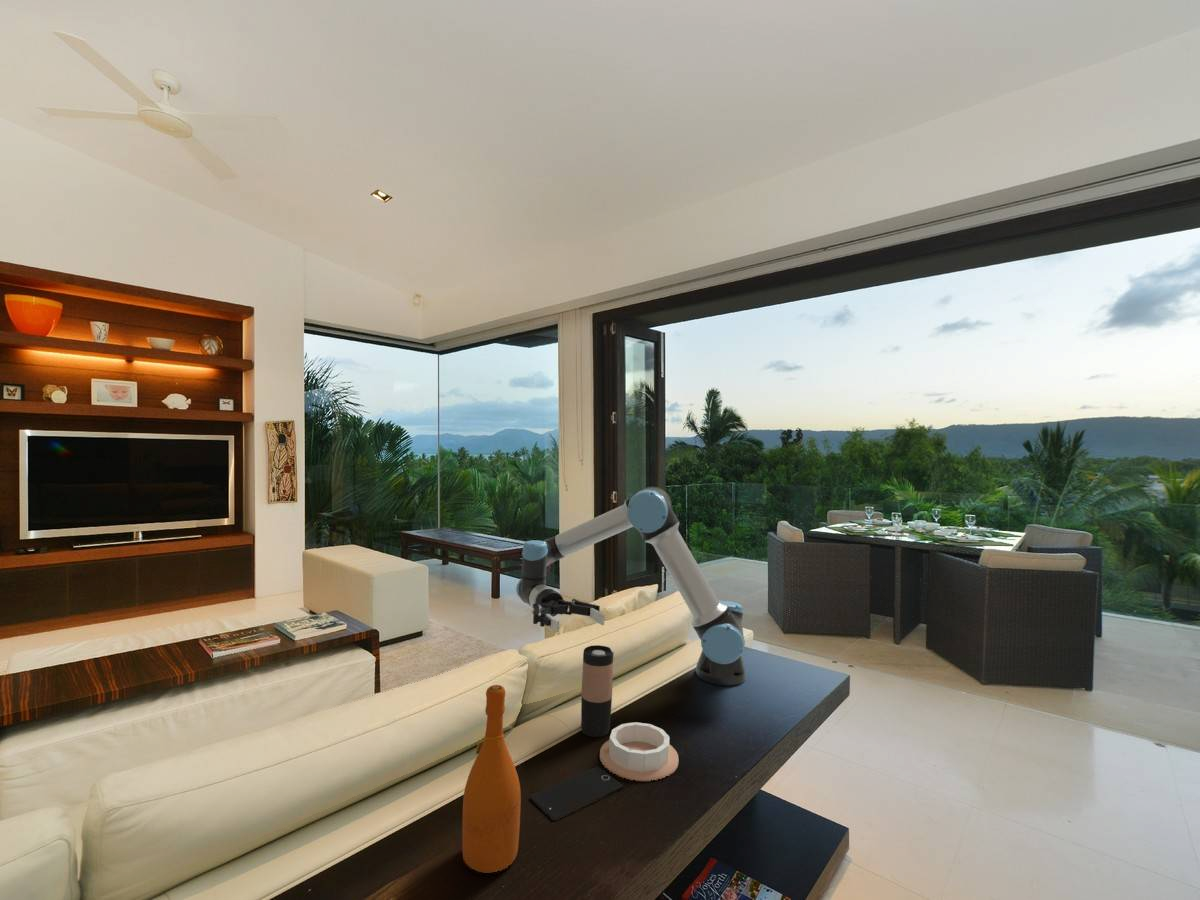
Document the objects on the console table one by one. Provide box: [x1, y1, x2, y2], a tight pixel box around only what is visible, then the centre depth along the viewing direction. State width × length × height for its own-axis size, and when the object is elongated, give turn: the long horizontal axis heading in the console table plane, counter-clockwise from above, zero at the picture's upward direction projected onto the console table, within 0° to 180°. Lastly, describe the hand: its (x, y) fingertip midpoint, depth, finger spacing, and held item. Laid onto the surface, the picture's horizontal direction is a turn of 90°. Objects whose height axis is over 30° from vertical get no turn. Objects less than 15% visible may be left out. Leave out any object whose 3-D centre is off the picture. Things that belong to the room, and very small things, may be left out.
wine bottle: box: [461, 684, 522, 874], centre depth 101 cm, size 10×10×30 cm
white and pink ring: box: [599, 721, 680, 782], centre depth 134 cm, size 18×18×5 cm
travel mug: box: [580, 644, 614, 738], centre depth 146 cm, size 8×8×20 cm
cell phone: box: [529, 766, 624, 819], centre depth 120 cm, size 9×18×1 cm, turn 130°
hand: (581, 623), depth 153 cm, fingers open, 13 cm apart
